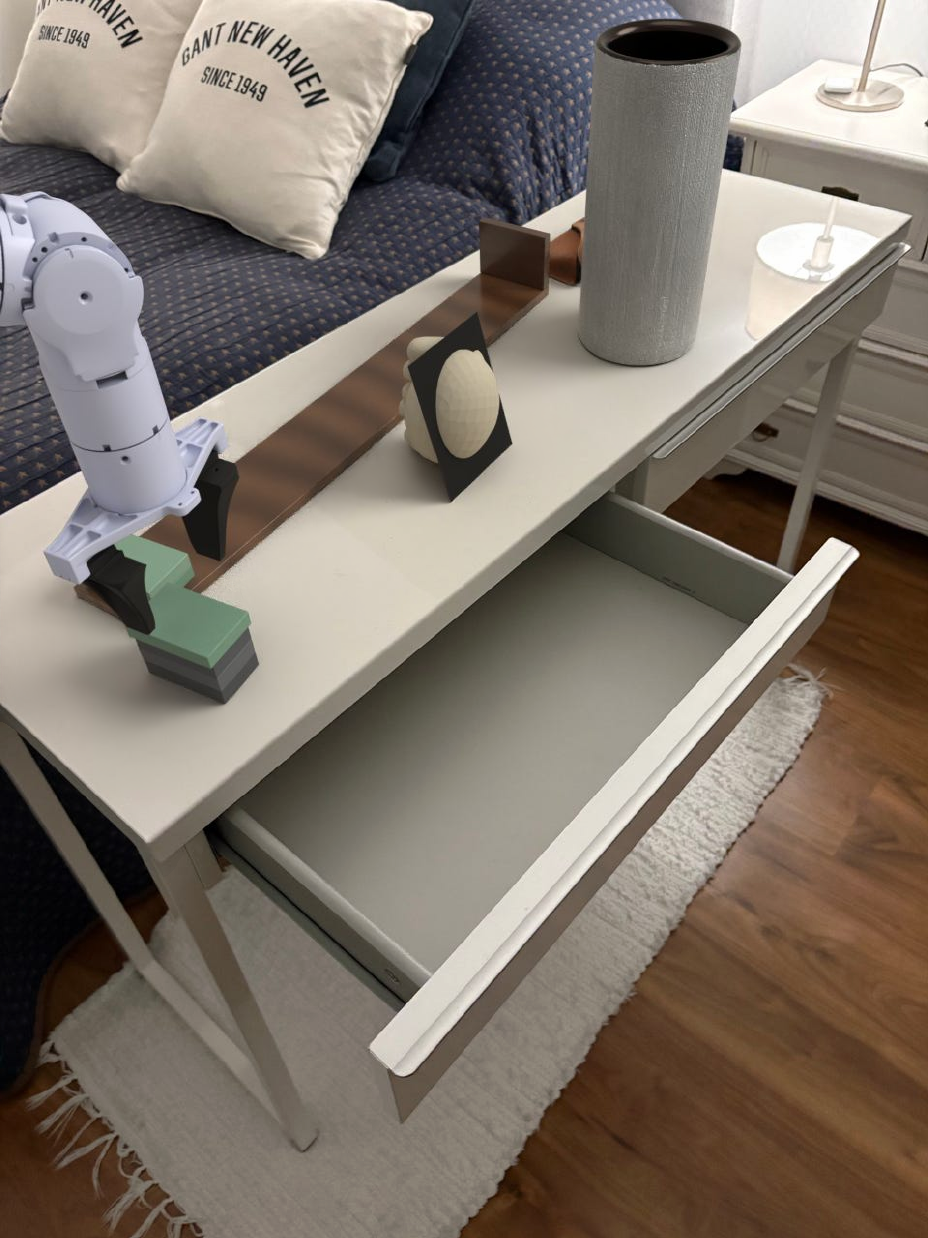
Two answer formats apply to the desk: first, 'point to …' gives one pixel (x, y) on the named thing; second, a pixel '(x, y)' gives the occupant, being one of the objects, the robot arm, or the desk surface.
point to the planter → (653, 184)
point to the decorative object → (454, 404)
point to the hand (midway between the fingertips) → (177, 589)
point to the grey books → (205, 668)
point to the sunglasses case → (567, 255)
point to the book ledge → (358, 406)
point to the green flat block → (157, 563)
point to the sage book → (193, 625)
